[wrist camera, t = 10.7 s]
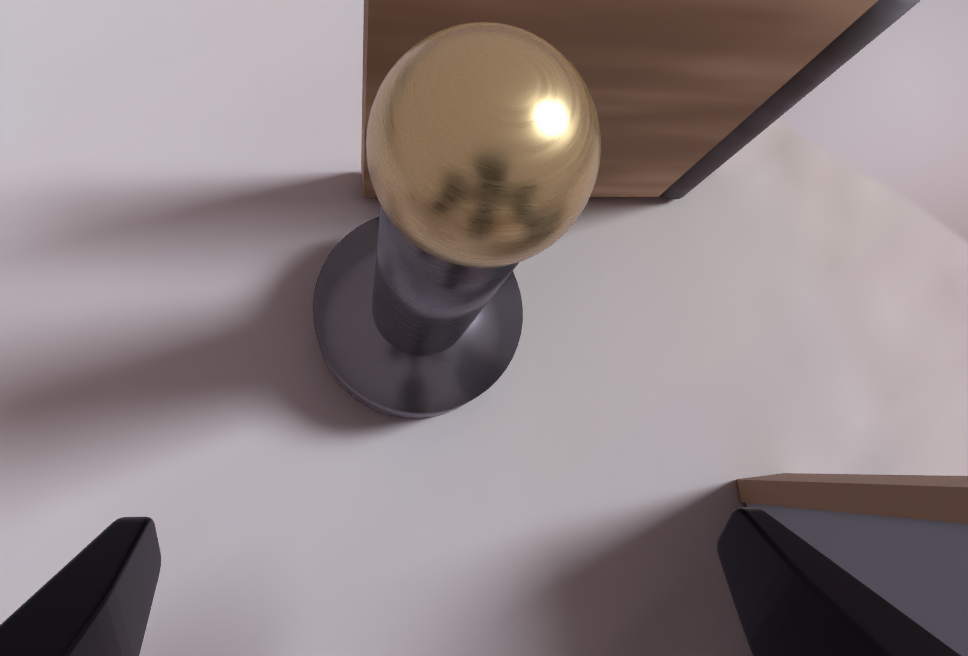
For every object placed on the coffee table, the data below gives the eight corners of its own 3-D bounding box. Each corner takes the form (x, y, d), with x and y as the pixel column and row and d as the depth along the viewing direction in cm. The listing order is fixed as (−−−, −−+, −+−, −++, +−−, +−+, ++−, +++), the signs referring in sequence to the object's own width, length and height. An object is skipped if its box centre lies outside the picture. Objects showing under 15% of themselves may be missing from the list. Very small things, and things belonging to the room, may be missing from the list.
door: (690, 199, 23) (929, 8, 13) (363, 200, 20) (370, -41, 11) (684, 166, 23) (913, -43, 14) (361, 163, 20) (365, -104, 11)
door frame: (862, 854, 19) (1284, 1176, 10) (810, 870, 18) (1206, 1222, 10) (718, 150, 24) (918, -25, 16) (674, 149, 24) (856, -31, 15)
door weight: (471, 446, 19) (677, 405, 7) (284, 375, 18) (137, 187, 6) (530, 276, 21) (777, 1, 9) (363, 206, 20) (371, -201, 8)
